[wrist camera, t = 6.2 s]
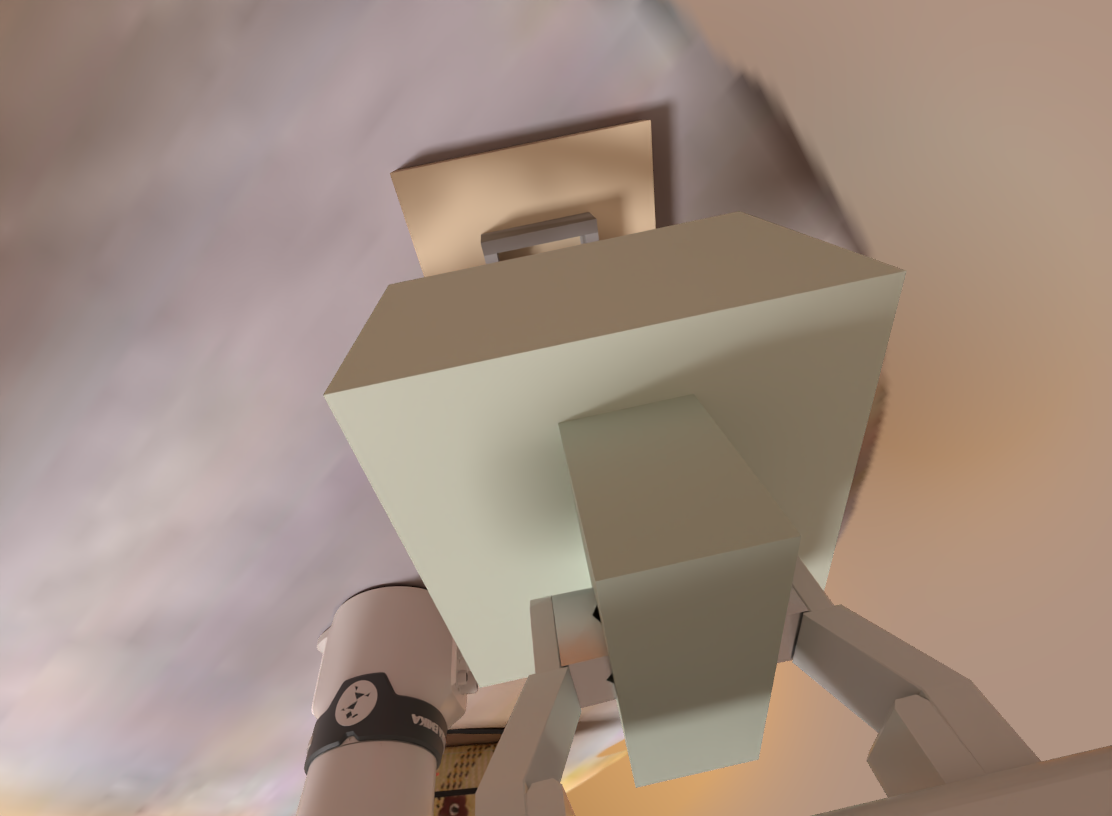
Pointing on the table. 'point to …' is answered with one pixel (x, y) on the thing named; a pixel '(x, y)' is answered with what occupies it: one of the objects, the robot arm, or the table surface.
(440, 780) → the clutch purse
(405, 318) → the housing
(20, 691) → the table surface
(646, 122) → the socket plate
